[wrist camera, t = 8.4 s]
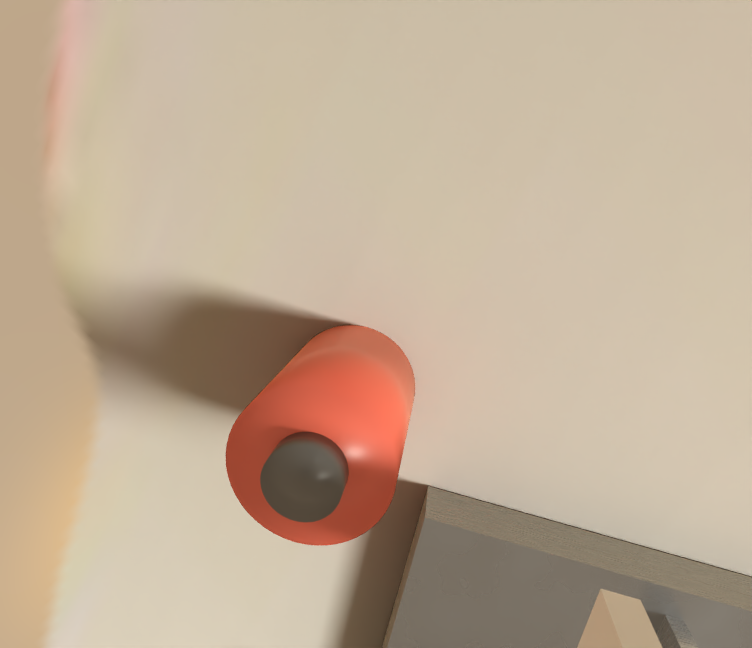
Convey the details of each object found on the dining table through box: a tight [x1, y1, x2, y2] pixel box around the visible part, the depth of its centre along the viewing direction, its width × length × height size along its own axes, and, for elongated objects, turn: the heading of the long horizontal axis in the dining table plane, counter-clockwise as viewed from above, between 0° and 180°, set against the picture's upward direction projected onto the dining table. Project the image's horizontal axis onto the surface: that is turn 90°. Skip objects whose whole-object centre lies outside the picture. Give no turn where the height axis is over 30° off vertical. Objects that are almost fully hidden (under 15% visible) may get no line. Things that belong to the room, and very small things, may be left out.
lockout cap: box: [226, 325, 415, 545], centre depth 17 cm, size 4×4×7 cm
